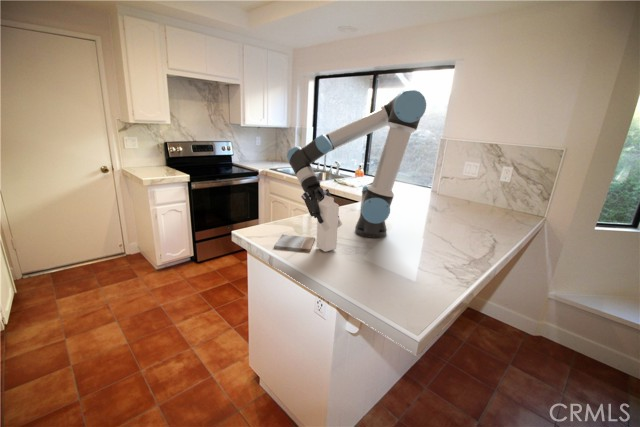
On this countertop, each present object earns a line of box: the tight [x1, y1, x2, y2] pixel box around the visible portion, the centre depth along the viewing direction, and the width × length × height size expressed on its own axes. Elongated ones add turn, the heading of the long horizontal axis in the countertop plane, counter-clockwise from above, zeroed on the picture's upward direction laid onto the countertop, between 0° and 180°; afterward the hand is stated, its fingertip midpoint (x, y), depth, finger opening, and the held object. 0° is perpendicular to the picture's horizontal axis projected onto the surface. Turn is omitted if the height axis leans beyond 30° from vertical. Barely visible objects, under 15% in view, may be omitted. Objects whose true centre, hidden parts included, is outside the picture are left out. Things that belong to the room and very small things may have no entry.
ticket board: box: [273, 234, 316, 253], centre depth 129 cm, size 15×13×1 cm
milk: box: [315, 195, 340, 252], centre depth 122 cm, size 6×6×22 cm
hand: (333, 227), depth 120 cm, fingers closed on milk, 6 cm apart
